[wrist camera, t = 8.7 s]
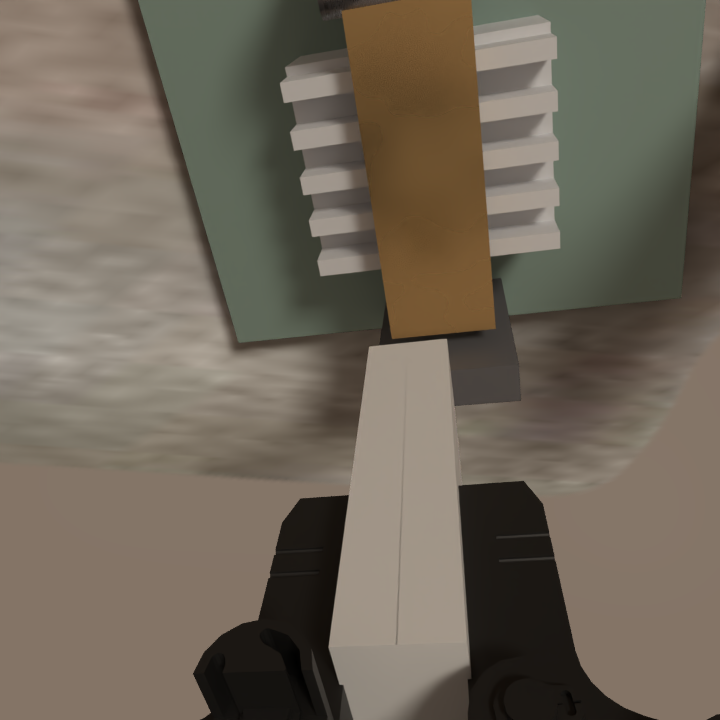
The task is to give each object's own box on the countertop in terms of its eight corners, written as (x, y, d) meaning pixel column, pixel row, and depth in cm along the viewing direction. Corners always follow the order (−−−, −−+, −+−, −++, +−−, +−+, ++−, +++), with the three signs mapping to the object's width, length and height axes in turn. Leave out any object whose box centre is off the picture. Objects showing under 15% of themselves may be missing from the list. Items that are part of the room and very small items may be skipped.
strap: (377, 328, 20) (374, 342, 20) (319, -26, 16) (312, -27, 15) (510, 314, 20) (513, 329, 19) (487, -58, 15) (490, -62, 15)
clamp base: (246, 327, 27) (191, 434, 21) (133, -68, 20) (4, -79, 14) (670, 283, 24) (748, 391, 18) (705, -191, 17) (848, -270, 11)
